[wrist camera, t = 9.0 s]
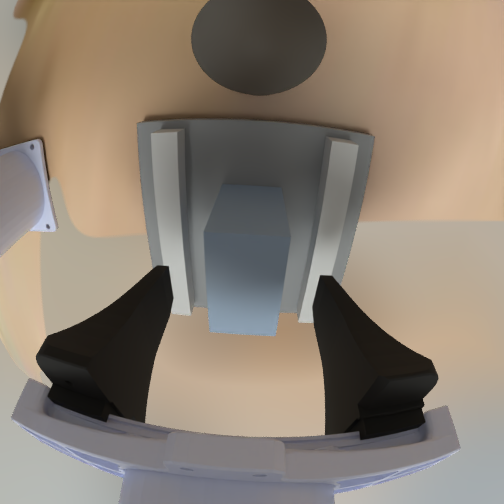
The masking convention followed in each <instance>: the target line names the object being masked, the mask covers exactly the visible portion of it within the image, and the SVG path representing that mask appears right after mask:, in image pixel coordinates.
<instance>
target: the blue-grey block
mask: <svg viewBox="0 0 504 504" xmlns="http://www.w3.org/2000/svg"><path fill="white" fill-rule="evenodd" d="M203 234H204V256H205V274H206V290H207V304H208V317H209V329H210V332H217V333H230V334H246V335H263V336H275V335H276V330H277V324H278V318H279V312H280V306H281V300H282V294H283V287H284V281H285V274H286V268H287V261H288V254H289V247H290V240H291V235H290V230H289V224H288V219H287V214H286V208H285V203H284V198H283V193H282V188H281V187H267V186H251V185H231V184H222V186H221V189H220V191H219V194H218V196H217V199H216V201H215V204H214V206H213V209H212V211H211V214H210V216H209V219H208V221H207V224H206V227H205V229H204V232H203Z"/></svg>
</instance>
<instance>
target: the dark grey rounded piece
mask: <svg viewBox="0 0 504 504" xmlns="http://www.w3.org/2000/svg"><path fill="white" fill-rule="evenodd" d="M191 43H192V49H193V53H194V56H195V58H196V60H197V62H198V64H199V65H200V67H201V68H202V70H203V71H204V72H205V73H206V74H207V75H208V76H209V77H210V78H211V79H213V80H214V81H215V82H217V83H218V84H220V85H222V86H224V87H226V88H228V89H230V90H233V91H236V92H240V93H244V94H250V95H270V94H275V93H279V92H283V91H286V90H289V89H291V88H293V87H295V86H297V85H299V84H301V83H302V82H304V81H305V80H306V79H307V78H309V77H310V76H311V75H312V74H313V73H314V72H315V70H316V69H317V68H318V66H319V65H320V63H321V61H322V59H323V57H324V53H325V50H326V43H327V39H326V30H325V26H324V23H323V20H322V18H321V17H320V15H319V13H318V12H317V10H316V9H315V7H314V6H313V5H312V4H311V3H310V2H309V1H308V0H210V1H208V2H207V3H206V4H205V6H204V7H203V8H202V9H201V11H200V12H199V14H198V15H197V17H196V20H195V22H194V25H193V28H192V35H191Z"/></svg>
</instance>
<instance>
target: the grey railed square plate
mask: <svg viewBox="0 0 504 504" xmlns="http://www.w3.org/2000/svg"><path fill="white" fill-rule="evenodd" d="M137 134H138V152H139V166H140V177H141V188H142V197H143V206H144V214H145V221H146V229H147V235H148V242H149V248H150V254H151V260H152V266H153V268H154V267H156V266H157V265H162V266H169V271H170V277H171V284H172V290H173V296H174V299H173V304H172V309H171V311H172V314H180V315H191V314H192V310H193V307H204V308H208V304H207V290H206V274H205V256H204V234H203V232H204V229H205V227H206V224H207V221H208V219H209V216H210V214H211V211H212V209H213V206H214V204H215V201H216V199H217V196H218V194H219V191H220V189H221V186H222V184H231V185H251V186H267V187H281V188H282V193H283V198H284V203H285V208H286V214H287V219H288V224H289V230H290V235H291V240H290V247H289V254H288V261H287V268H286V274H285V281H284V287H283V294H282V300H281V306H280V312H283V313H297V315H298V322H304V323H305V322H306V323H314V322H313V311H312V305H313V301H314V297H315V293H316V289H317V285H318V281H319V277H320V275H332V276H333V277H334V278H335V279H336V281H337V282H338V283H339V284H340V285H341V282H342V279H343V275H344V272H345V269H346V265H347V261H348V258H349V254H350V251H351V247H352V243H353V239H354V235H355V231H356V227H357V223H358V219H359V215H360V211H361V206H362V202H363V197H364V192H365V188H366V183H367V178H368V173H369V167H370V162H371V156H372V150H373V144H374V138H375V137H374V136H372V135H370V134H366V133H361V132H356V131H350V130H344V129H338V128H332V127H325V126H318V125H310V124H302V123H293V122H282V121H270V120H255V119H229V118H192V119H167V120H152V121H142V122H139V123H137Z"/></svg>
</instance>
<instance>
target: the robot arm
mask: <svg viewBox="0 0 504 504" xmlns="http://www.w3.org/2000/svg"><path fill="white" fill-rule="evenodd" d="M33 145H34V147H33ZM57 229H58V223H57V219H56V216H55V211H54V207H53V202H52V198H51V193H50V188H49V183H48V177H47V172H46V165H45V159H44V151H43V144H42V141H41V140H40V139H35V140H31V141H27V142H24V143H20V144H17V145H13V146H10V147H7V148H4V149H0V257H1V256H2V255H3V254H4V253H5V252H6V251H7V250H8V249H9V248H10V247H12V246H13V245H14V244H15V243H16V242H17V241H18V240H19V239H20V238H21V237H22V236H24V235H25V234H26V233H27V232H28V231H45V232H55V231H56V230H57ZM173 299H174V296H173V290H172V284H171V277H170V271H169V266H162V265H157V266H156V267H154V268H153V269H152V270H151V271H150V272H149V273H148V274H147V275H145V276H144V277H143V278H142V279H141V280H140V281H139V282H138V283H137V284H135V285H134V286H133V287H132V288H131V289H130V290H128V291H127V292H126V293H125V294H124V295H122V296H121V297H120V298H119V299H117V300H116V301H115V302H113V303H112V304H111V305H109V306H108V307H106V308H105V309H103V310H102V311H100V312H99V313H97V314H95V315H94V316H92V317H90V318H88V319H86V320H85V321H83V322H81V323H79V324H76V325H74V326H72V327H70V328H67V329H65V330H62V331H60V332H57V333H54V334H51V335H48V336H47V338H46V339H45V341H44V343H43V344H42V346H41V348H40V350H39V352H38V353H37V355H36V360H37V363H38V365H39V367H40V368H41V370H42V371H43V372H44V373H45V375H46V376H47V377H48V378H49V379H50V381H51V382H52V383H53V384H52V387H51V389H50V388H49V387H48V386H46V385H44V384H42V383H40V382H38V381H35V380H33V379H31V378H29V379H28V381H27V383H26V385H25V387H24V389H23V391H22V394H21V396H20V398H19V400H18V402H17V405H16V407H15V409H14V412H13V414H12V416H11V419H12V420H13V421H14V422H15V423H16V424H18V425H19V426H20V427H21V428H23V429H24V430H25V431H27V432H28V433H29V434H31V435H32V436H33V437H35V438H36V439H38V440H39V441H40V442H42V443H44V444H46V445H48V446H50V447H52V448H54V449H56V450H58V451H60V452H62V453H64V454H66V455H68V456H70V457H72V458H74V459H76V460H79V461H81V462H83V463H86V464H88V465H90V466H92V467H95V468H98V469H100V470H103V471H105V472H108V473H110V474H113V475H116V476H119V477H122V478H124V479H123V483H122V488H121V494H120V499H119V504H335V502H334V494H337V493H342V492H348V491H352V490H357V489H361V488H365V487H369V486H373V485H377V484H381V483H384V482H388V481H391V480H394V479H397V478H401V477H404V476H407V475H410V474H413V473H415V472H418V471H421V470H424V469H427V468H429V467H431V466H433V465H435V464H437V463H439V462H440V461H442V460H444V459H446V458H447V457H449V456H451V455H453V454H454V453H456V452H457V451H459V450H460V444H459V441H458V437H457V434H456V430H455V427H454V424H453V421H452V418H451V415H450V412H449V409H448V406H442V407H439V408H436V409H432V410H429V411H427V412H425V413H423V412H422V408H423V407H424V402H423V398H424V397H425V396H426V395H427V394H428V393H429V392H430V391H431V390H432V389H433V387H434V386H435V385H436V383H437V380H438V374H437V372H436V370H435V367H434V365H433V363H432V361H431V360H430V359H428V358H426V357H424V356H422V355H420V354H418V353H416V352H414V351H413V350H411V349H409V348H407V347H406V346H404V345H403V344H401V343H400V342H398V341H397V340H396V339H394V338H393V337H391V336H390V335H389V334H387V333H386V332H385V331H384V330H382V329H381V328H380V327H379V326H378V325H377V324H376V323H374V322H373V321H372V320H371V319H370V318H369V317H368V316H367V315H366V314H365V313H364V312H363V311H362V310H361V309H360V308H359V307H358V305H357V304H356V303H355V302H354V301H353V300H352V299H351V298H350V297H349V295H348V294H347V293H346V292H345V290H344V289H343V288H342V287H341V286H340V284H339V283H338V282H337V281H336V279H335V278H334V277H333V276H332V275H320V277H319V281H318V285H317V289H316V293H315V297H314V301H313V305H312V311H313V322H314V328H315V332H316V337H317V342H318V346H319V351H320V356H321V360H322V366H323V376H324V389H325V435H321V436H307V437H243V436H242V437H241V436H228V435H216V434H206V433H198V432H191V431H184V430H177V429H171V428H166V427H160V426H156V425H151V424H146V423H145V416H146V406H147V398H148V391H149V385H150V380H151V373H152V369H153V365H154V360H155V356H156V353H157V350H158V347H159V344H160V341H161V339H162V336H163V333H164V330H165V328H166V324H167V322H168V319H169V317H170V313H171V309H172V304H173Z"/></svg>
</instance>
